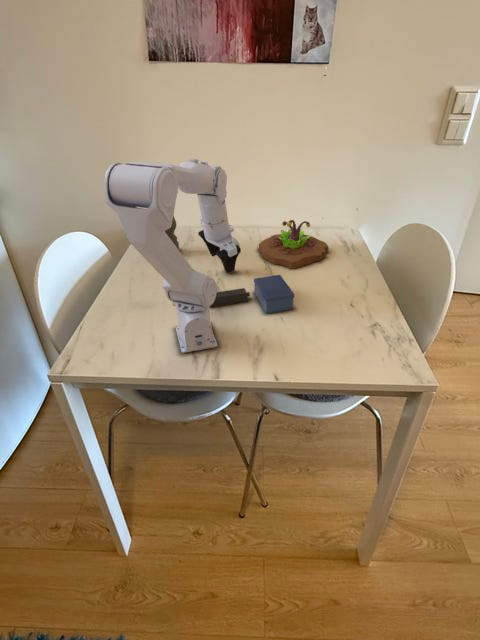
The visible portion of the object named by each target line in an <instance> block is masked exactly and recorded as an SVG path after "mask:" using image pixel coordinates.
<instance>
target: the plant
mask: <svg viewBox="0 0 480 640" xmlns="http://www.w3.org/2000/svg"><path fill="white" fill-rule="evenodd" d="M281 224H282V226H284V227H286V226H287V228H289V229H288V231H286V230H283V229H280V233H279V234H273V235H270V237H268V238H264V239H263V240H261V242H259V244H258V252H259V253H260V254H261V256H262V258H263V259H264V260H266V261H269V262H270V263H272V264H274V265H281V266H284V267H286V268H289V269H291V270H293V269H298V268H300V267H303V266H309V265H310V264H313V263H314V262H320V261H321V260H322V259H325V258H326V254H327V253H328V252H329V246H328V244H327V242H326V241H323V240H320V239H318V238H316V237H315V236H312V235H309V234H305V231H304V230H302V229H301V228H302V226H303V225H304V224H305V225H306V228H309V227H311V223H310V221H306V220H303V221H302V222H301V223H300V224H299V225H298V226H297V225H296V221H295V220H294V219H290V220H288V221H285V220H284V221H282V223H281Z"/></svg>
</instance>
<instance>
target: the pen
mask: <svg viewBox="0 0 480 640" xmlns="http://www.w3.org/2000/svg"><path fill="white" fill-rule="evenodd" d="M248 297H251V293H250V291H247V290H246V288H245V287H242V288H235V289H228V290H222V291H217V293H216V298H215V300H214V302H213V304H212V305H211V306H212V307H214V308H215V307H222V306H228V305H232V304H233V305H234V304H240V303H246V302H248Z"/></svg>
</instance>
